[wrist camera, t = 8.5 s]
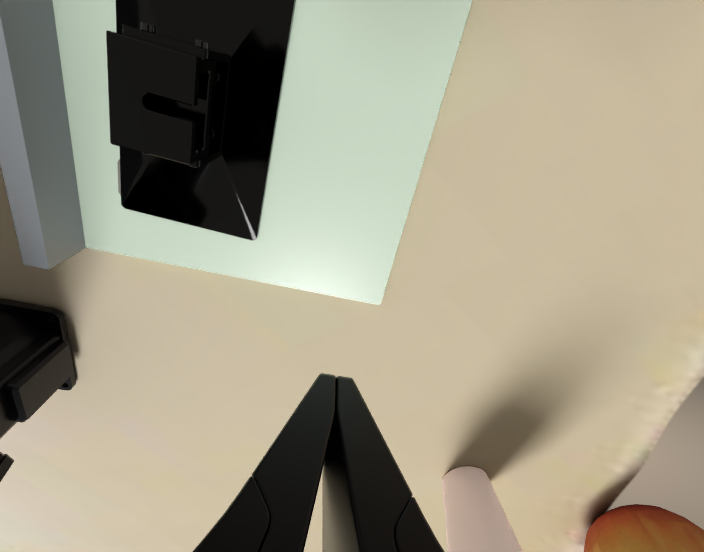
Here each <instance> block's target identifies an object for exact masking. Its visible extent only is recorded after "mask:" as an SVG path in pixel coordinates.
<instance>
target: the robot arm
mask: <svg viewBox="0 0 704 552" xmlns="http://www.w3.org/2000/svg"><path fill="white" fill-rule="evenodd" d="M52 316H53V317H52ZM75 384H76V378H75V373H74V367H73V362H72V356H71V351H70V346H69V340H68V335H67V329H66V324H65V318H64V315H63V314H62V312H60V311H59V310H57V309H53V308H48V307H42V306H37V305H31V304H26V303H20V302H15V301H9V300H3V299H0V438H1V437H2V436H3V435H4V434H5V433H6V432H7V431H8V430H9V429H10V428H11V427H13V426H14V425H15V424H16V423H17V422H24V421H26V420H27V419H29V418H30V417H31V416H32V415H33V414H34V413H35V412H36V411H37V410H38V409H39V408H40V407H41V406H42V405H43V404H44V403H45V402H46V401H47V400H48V399H49V398H50V397H51V396H52V395H53V393H54V392H55V391H56V390H57V389H61V390H71V389H72V387H73V386H74V385H75ZM13 462H14V460H13V459H12V458H11V457H10V456H8V455H7V454H2V453H1V452H0V482H1V480H2V479H3V477H4V476H5V474H6V473H7V471H8V470H9V468H10V466H11V465H12V463H13ZM322 469H323V552H444V550H443V549H442V547H441V545H440V544H439V542H438V540H437V539H436V537H435V535H434V533H433V532H432V530H431V528H430V526H429V524H428V523H427V521H426V519H425V517H424V515H423V513H422V511H421V510H420V508H419V506H418V504H417V502H416V500H415V498H414V497H412V492H411V490H410V488H409V486H408V485H407V483H406V481H405V479H404V477H403V475H402V473H401V471H400V469H399V467H398V465H397V463H396V461H395V459H394V457H393V456H392V454H391V452H390V450H389V448H388V446H387V444H386V442H385V440H384V438H383V436H382V434H381V432H380V430H379V428H378V427H377V425H376V423H375V421H374V419H373V417H372V415H371V413H370V411H369V409H368V407H367V405H366V403H365V401H364V399H363V398H362V396H361V394H360V392H359V390H358V388H357V386H356V384H355V382H354V380H353V379H352V378H349V377H343V376H338V377H335V376H334V375H330V374H323V373H321V374H320V375H319V376H318V377H317V379H316V380H315V382H314V383H313V385H312V386H311V388H310V389H309V391H308V392H307V394H306V395H305V396H304V398H303V399H302V401H301V402H300V404H299V405H298V407H297V408H296V410H295V411H294V413H293V414H292V416H291V417H290V419H289V420H288V422H287V423H286V425H285V426H284V428H283V429H282V431H281V432H280V434H279V435H278V436H277V438H276V439H275V441H274V442H273V444H272V445H271V447H270V448H269V450H268V451H267V453H266V454H265V456H264V457H263V459H262V460H261V462H260V463H259V465H258V466H257V468H256V469H255V471H254V472H253V474H252V476H251V477H250V478H249V479H248V481H247V482H246V484H245V485H244V486H243V488H242V489H241V491H240V492H239V494H238V495H237V496H236V498H235V499H234V501H233V502H232V503H231V505H230V506H229V508H228V509H227V510H226V512H225V513H224V514H223V516H222V517H221V518H220V519H219V520H218V522H217V523H216V524H215V525H214V527H213V528H212V529H211V530H210V532H209V533H208V534H207V535H206V537H205V538H204V539H203V540H202V541H201V542H200V544H199V545H198V546H197V547H196V548H195V549H194V551H193V552H303V551H304V547H305V542H306V538H307V534H308V529H309V525H310V521H311V516H312V512H313V508H314V504H315V499H316V495H317V491H318V486H319V482H320V478H321V473H322Z"/></svg>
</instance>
